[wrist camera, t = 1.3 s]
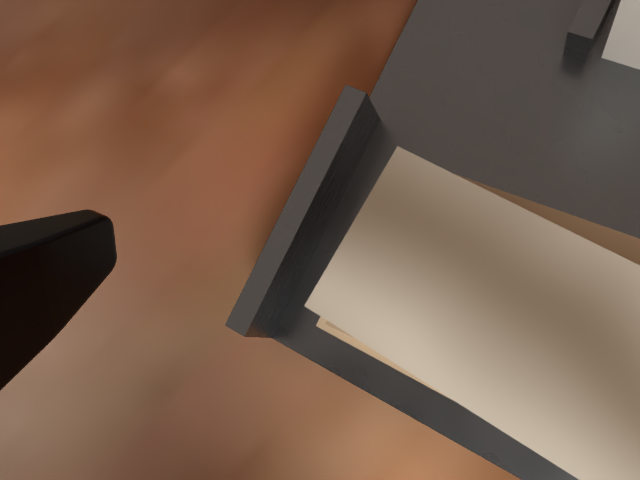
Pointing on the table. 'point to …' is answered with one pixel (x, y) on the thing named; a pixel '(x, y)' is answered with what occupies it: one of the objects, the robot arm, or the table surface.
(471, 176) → the rack
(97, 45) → the table surface
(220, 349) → the table surface
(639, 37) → the cream rectangular block
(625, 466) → the offcut stack
